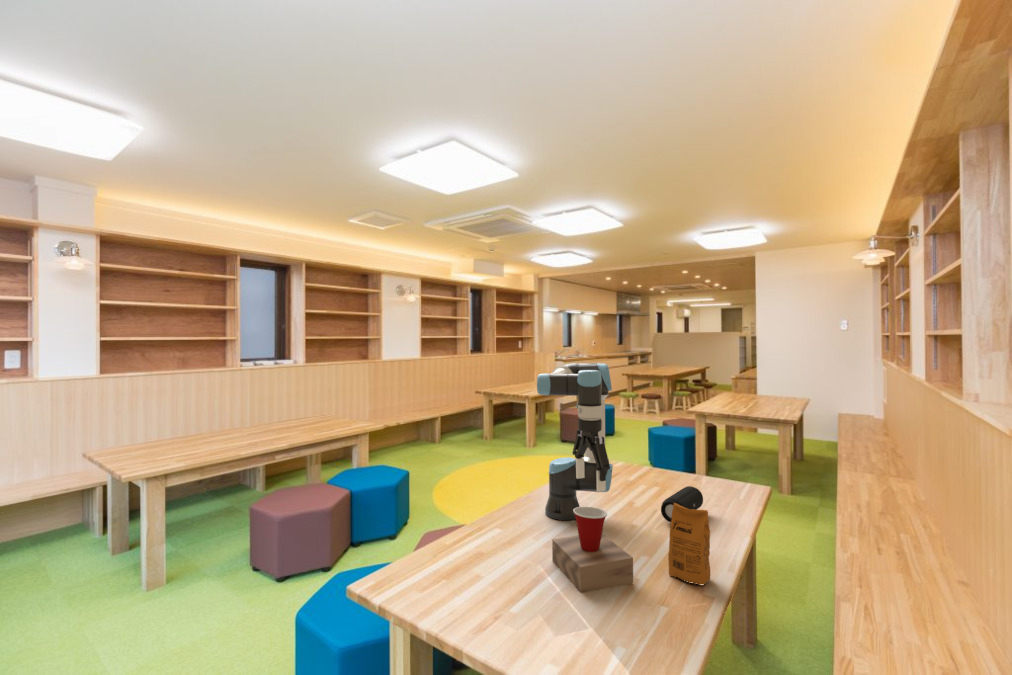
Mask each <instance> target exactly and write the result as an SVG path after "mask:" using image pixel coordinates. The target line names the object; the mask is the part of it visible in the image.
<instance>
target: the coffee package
mask: <svg viewBox="0 0 1012 675" xmlns="http://www.w3.org/2000/svg"><path fill="white" fill-rule="evenodd" d="M709 521H710V520H709V512H708V510H707V509H697V510H694V509H687V508H685V507H683V506H680V505H678V504H676V503H674V505H673V510H672V520H671V522H670V529H669V542H668V543H669V544H668V557H667V560H668V563H667V564H668V575H671V576H674V577H673V578H676V577H678V579H680V578H681V579H680V580H682V579H683V580H685V581H688V582H693V583H697V584H705V583H706V582H707V583H708V581H710V578H711V566H710V554H711V553H710V551H711V550H710V547H711V545H710V544H711V542H710V541H711V529H710V522H709ZM671 576H670V577H671ZM683 580H682V581H683ZM685 581H684V582H685ZM705 585H706V584H705Z"/></svg>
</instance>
